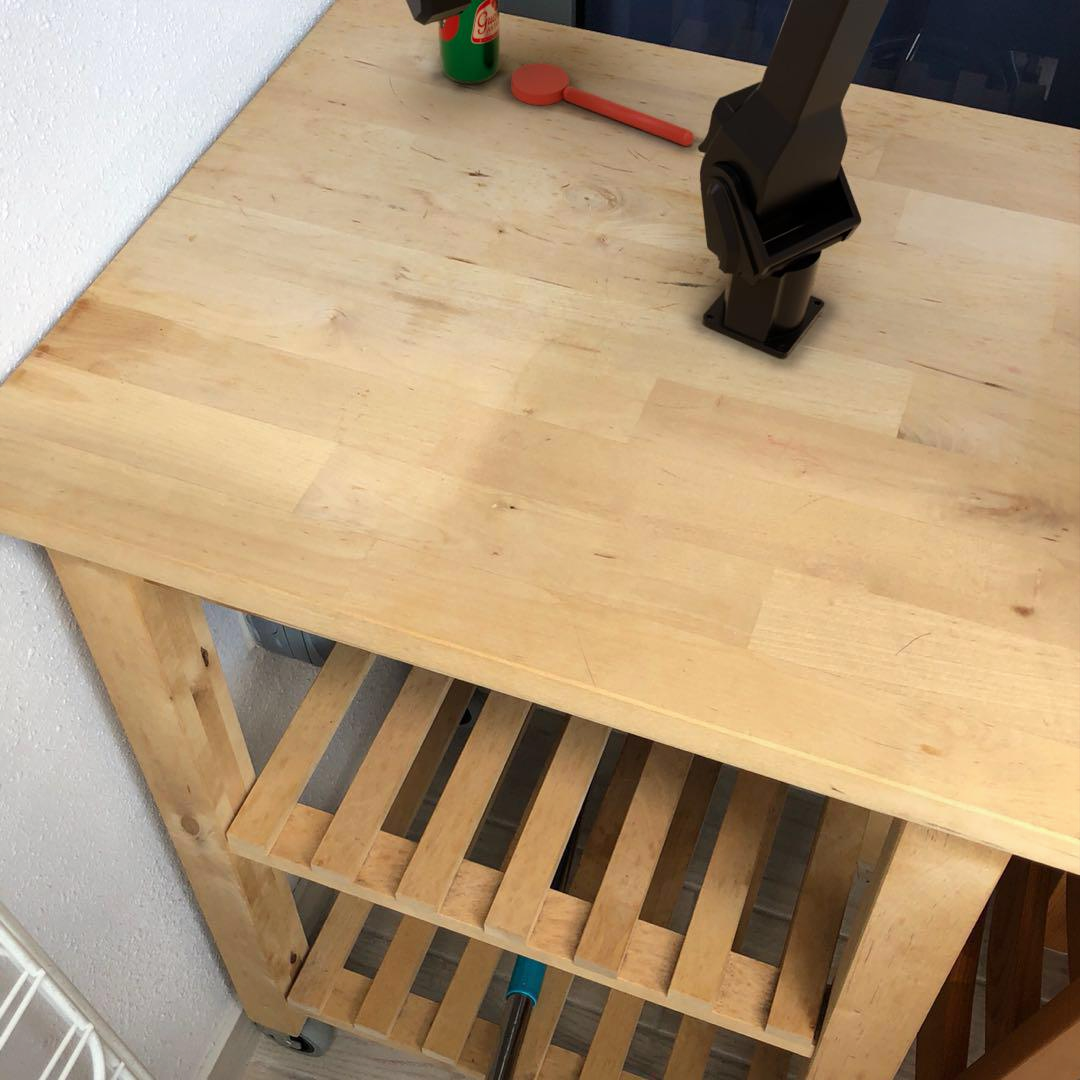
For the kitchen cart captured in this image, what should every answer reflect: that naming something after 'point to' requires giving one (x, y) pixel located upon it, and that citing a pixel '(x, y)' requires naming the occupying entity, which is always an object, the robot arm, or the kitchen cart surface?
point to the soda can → (471, 43)
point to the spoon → (585, 100)
